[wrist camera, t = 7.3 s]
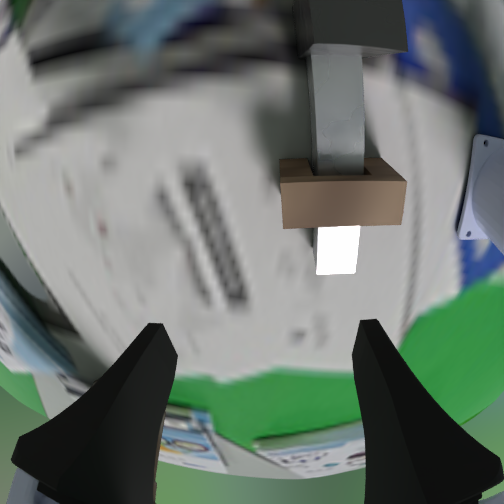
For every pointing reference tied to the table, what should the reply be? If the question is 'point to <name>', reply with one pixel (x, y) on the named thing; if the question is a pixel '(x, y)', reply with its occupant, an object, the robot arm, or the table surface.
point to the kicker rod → (342, 96)
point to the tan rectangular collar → (341, 196)
